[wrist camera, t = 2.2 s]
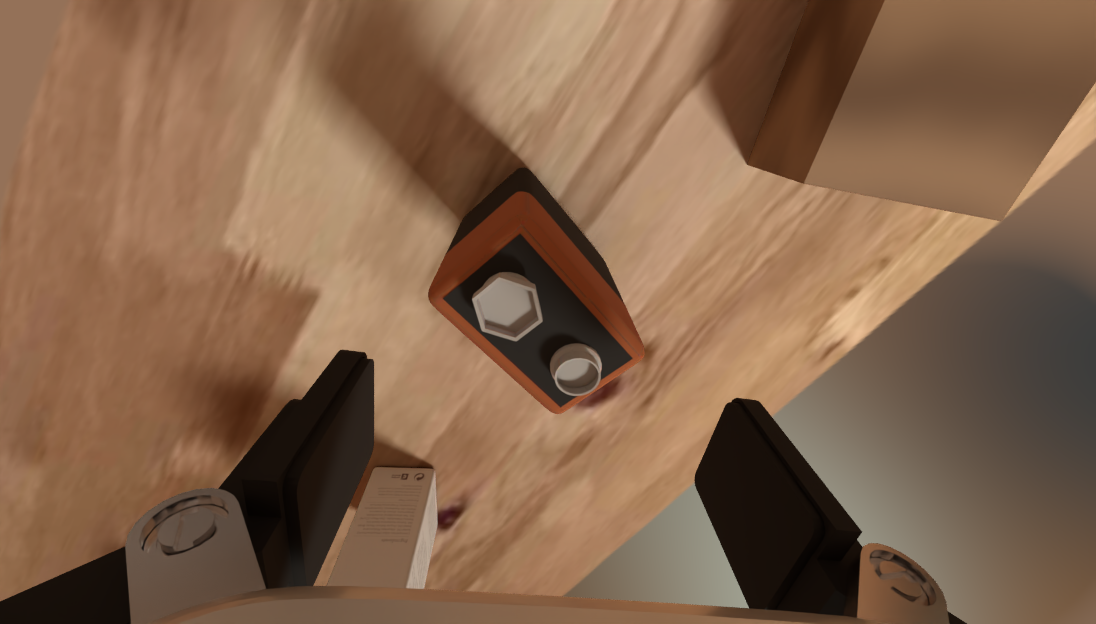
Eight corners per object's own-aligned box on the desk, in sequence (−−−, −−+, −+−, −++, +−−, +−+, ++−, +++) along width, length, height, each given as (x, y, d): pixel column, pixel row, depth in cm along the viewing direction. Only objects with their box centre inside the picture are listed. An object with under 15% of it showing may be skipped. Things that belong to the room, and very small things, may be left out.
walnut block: (832, -71, 17) (941, -129, 12) (1023, -18, 18) (1187, -54, 13) (744, 164, 21) (803, 183, 16) (905, 195, 22) (1001, 221, 18)
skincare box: (372, 464, 29) (282, 685, 18) (436, 466, 29) (385, 683, 18) (380, 523, 31) (306, 744, 21) (439, 524, 32) (395, 742, 21)
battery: (524, 161, 20) (523, 217, 11) (608, 263, 23) (661, 374, 14) (458, 220, 21) (411, 313, 12) (545, 310, 24) (557, 441, 15)
